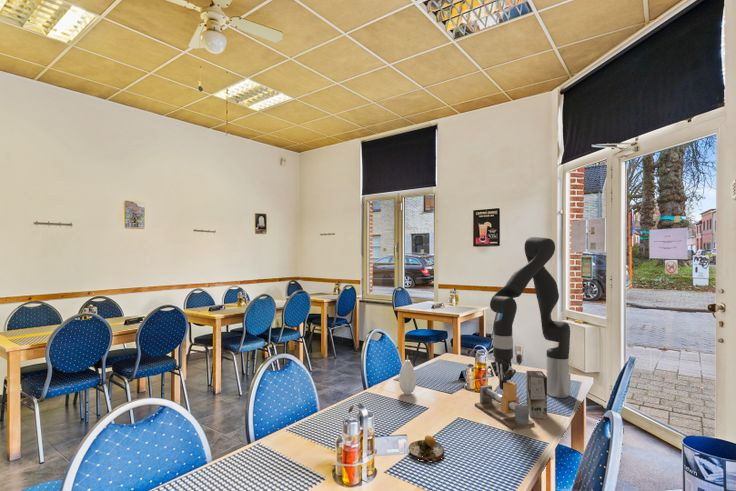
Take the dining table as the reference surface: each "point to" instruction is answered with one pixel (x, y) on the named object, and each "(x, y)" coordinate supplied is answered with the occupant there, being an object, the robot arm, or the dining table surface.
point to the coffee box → (536, 393)
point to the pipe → (520, 410)
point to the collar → (509, 396)
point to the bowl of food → (427, 449)
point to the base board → (501, 415)
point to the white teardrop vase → (407, 378)
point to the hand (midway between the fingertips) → (503, 389)
